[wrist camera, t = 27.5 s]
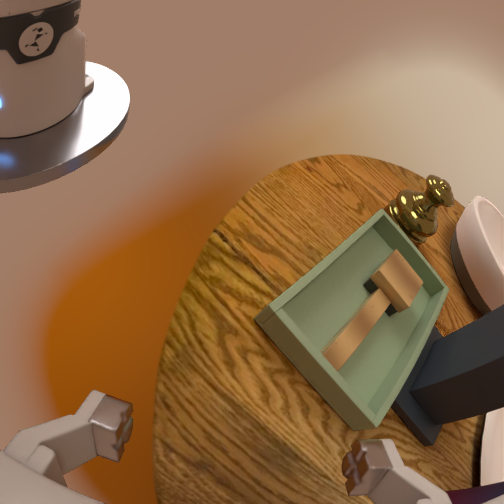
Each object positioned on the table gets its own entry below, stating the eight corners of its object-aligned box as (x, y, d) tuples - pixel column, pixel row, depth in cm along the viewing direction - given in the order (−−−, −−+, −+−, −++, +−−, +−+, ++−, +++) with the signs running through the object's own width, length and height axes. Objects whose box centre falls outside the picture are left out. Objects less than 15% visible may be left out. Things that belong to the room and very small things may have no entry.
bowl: (483, 236, 54) (509, 214, 47) (515, 332, 42) (548, 313, 35) (423, 209, 47) (455, 178, 40) (464, 335, 35) (511, 310, 28)
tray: (253, 318, 26) (268, 304, 23) (367, 222, 38) (381, 207, 36) (353, 431, 23) (377, 428, 20) (432, 299, 36) (449, 289, 33)
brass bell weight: (418, 227, 43) (462, 187, 35) (416, 260, 38) (468, 219, 30) (383, 199, 43) (425, 153, 35) (377, 230, 38) (427, 181, 30)
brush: (335, 391, 24) (357, 384, 21) (298, 348, 25) (317, 338, 22) (406, 293, 33) (423, 282, 31) (379, 262, 34) (396, 248, 32)
